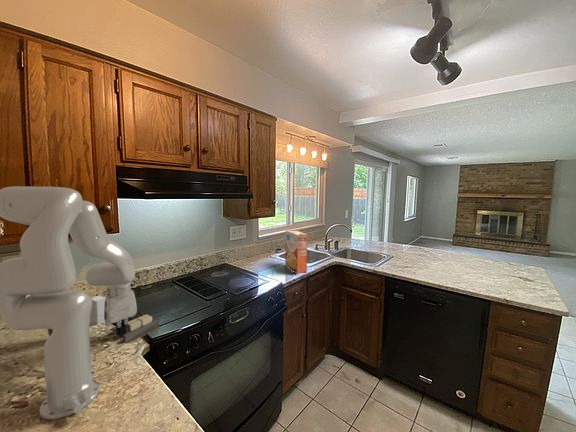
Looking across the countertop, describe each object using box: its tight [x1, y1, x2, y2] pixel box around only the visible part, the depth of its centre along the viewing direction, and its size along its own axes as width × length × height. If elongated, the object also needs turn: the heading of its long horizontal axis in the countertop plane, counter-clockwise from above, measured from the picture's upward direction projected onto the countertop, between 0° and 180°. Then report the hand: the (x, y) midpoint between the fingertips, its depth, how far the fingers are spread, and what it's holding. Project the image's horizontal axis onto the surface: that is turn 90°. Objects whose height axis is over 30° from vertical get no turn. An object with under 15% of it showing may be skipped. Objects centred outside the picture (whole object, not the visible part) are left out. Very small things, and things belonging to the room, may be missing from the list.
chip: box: [126, 318, 141, 333], centre depth 101 cm, size 4×4×4 cm
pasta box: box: [284, 229, 308, 275], centre depth 190 cm, size 23×8×30 cm, turn 22°
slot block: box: [111, 314, 161, 345], centre depth 102 cm, size 13×13×4 cm
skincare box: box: [89, 295, 106, 326], centre depth 109 cm, size 6×4×12 cm
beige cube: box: [137, 314, 153, 327], centre depth 105 cm, size 4×4×4 cm
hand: (121, 334), depth 97 cm, fingers closed
